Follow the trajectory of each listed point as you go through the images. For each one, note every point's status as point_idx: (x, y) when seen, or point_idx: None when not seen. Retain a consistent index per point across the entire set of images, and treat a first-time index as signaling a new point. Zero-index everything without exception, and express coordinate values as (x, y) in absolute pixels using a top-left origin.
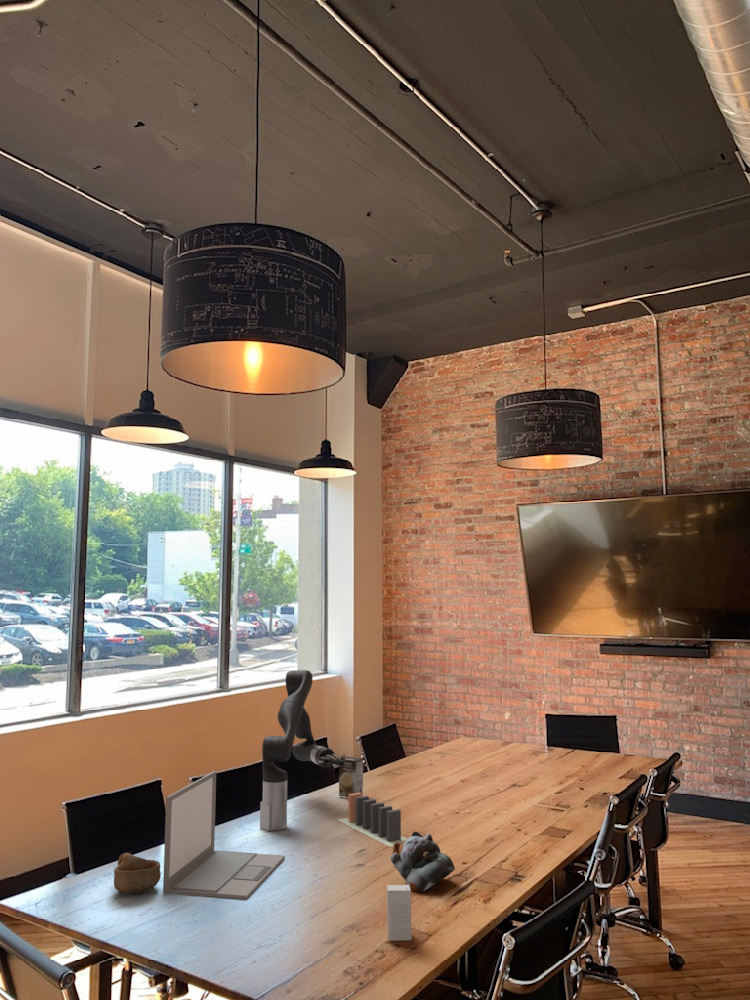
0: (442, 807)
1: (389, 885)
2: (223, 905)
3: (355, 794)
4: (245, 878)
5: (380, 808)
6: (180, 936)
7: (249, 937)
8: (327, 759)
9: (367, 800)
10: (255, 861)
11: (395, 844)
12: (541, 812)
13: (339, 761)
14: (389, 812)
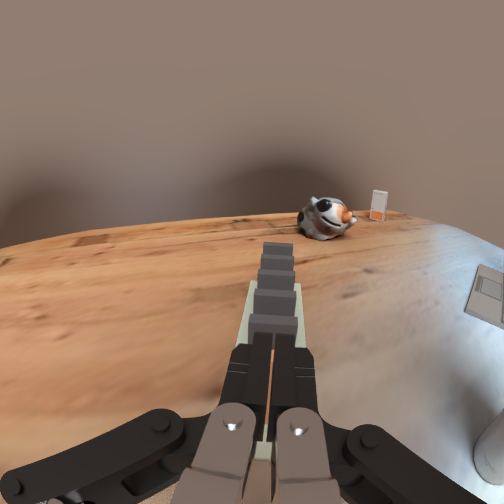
0: (13, 345)
1: (385, 193)
2: (491, 266)
3: (273, 350)
4: (491, 281)
5: (293, 256)
6: (499, 254)
7: (462, 242)
8: (412, 453)
9: (281, 294)
10: (496, 306)
11: (350, 209)
12: (18, 264)
13: (294, 355)
14: (291, 244)
